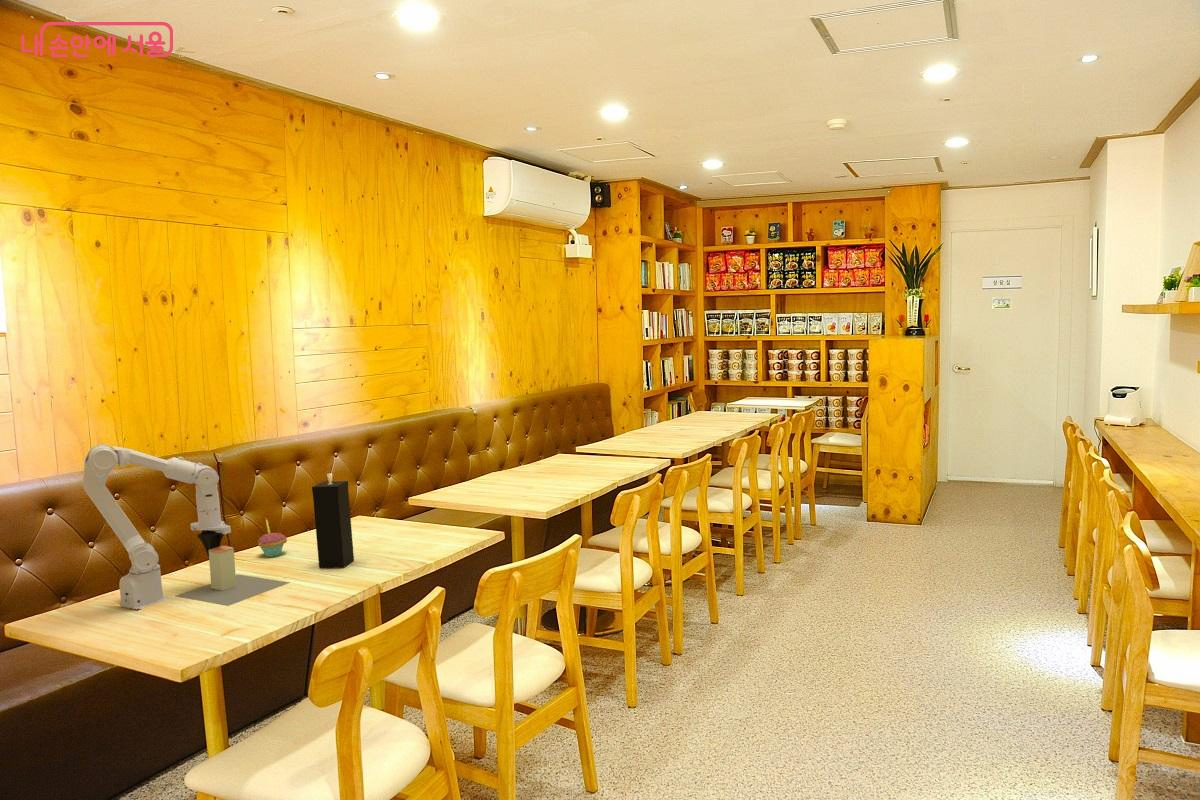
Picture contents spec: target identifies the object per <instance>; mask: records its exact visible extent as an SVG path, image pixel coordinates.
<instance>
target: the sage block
mask: <svg viewBox="0 0 1200 800" xmlns="http://www.w3.org/2000/svg"><path fill="white" fill-rule="evenodd" d="M208 560H209V570H210V571H209V574H210V575H209V577H210V584H211V588H212V589H216V590H220V591H223V590H226V589H229V588H232V587H235V586H236V575H237V574H236V563H235V549H234V547H232V546H227V545H220V547H216V548H213V549H209V557H208Z"/></svg>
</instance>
